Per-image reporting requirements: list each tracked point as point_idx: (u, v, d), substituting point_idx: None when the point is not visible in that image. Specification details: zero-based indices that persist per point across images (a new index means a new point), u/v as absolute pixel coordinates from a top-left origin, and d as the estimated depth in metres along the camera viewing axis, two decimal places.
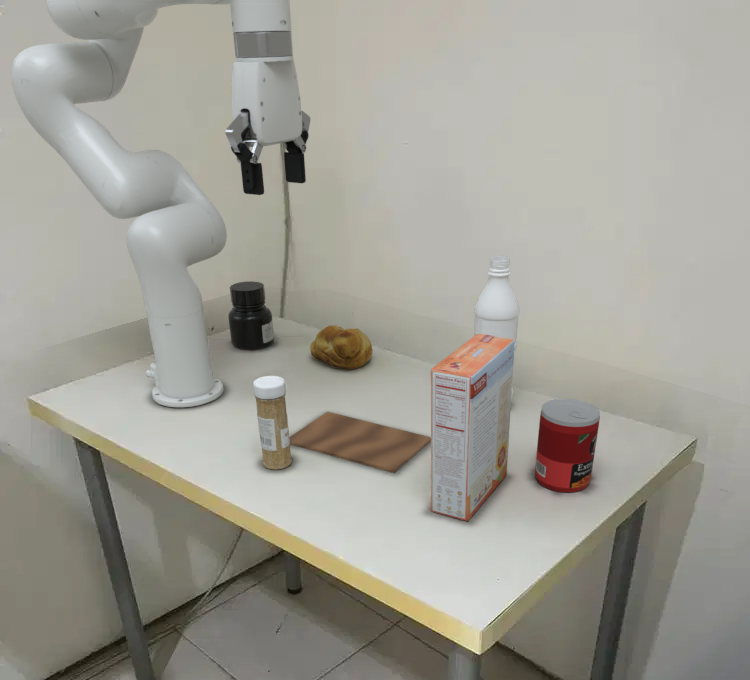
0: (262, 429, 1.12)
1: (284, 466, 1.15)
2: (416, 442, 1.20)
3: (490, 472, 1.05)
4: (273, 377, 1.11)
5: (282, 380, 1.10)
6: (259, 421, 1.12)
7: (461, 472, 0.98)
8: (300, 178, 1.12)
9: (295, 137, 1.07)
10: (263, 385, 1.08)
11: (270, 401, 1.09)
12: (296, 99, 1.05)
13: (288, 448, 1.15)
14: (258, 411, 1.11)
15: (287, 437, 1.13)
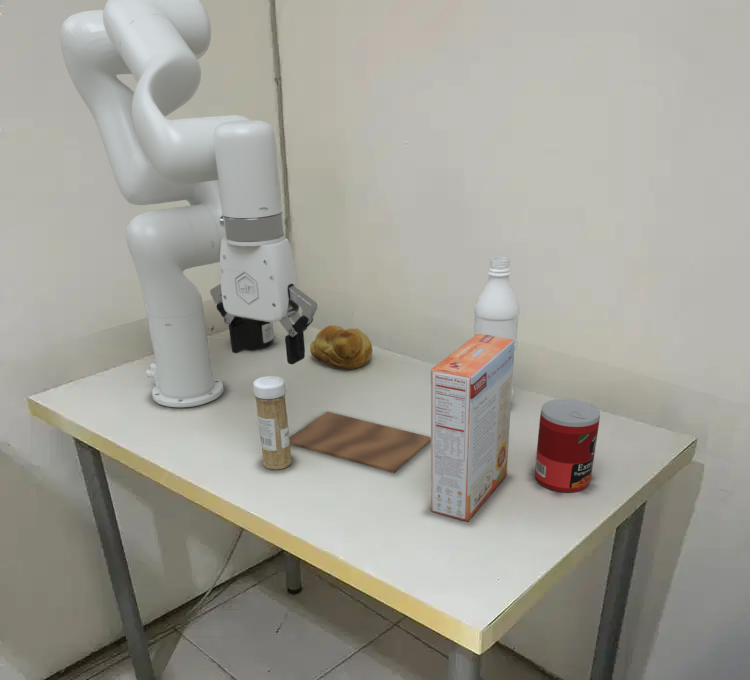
0: (262, 429, 1.12)
1: (284, 466, 1.15)
2: (416, 442, 1.20)
3: (490, 472, 1.05)
4: (273, 377, 1.11)
5: (282, 380, 1.10)
6: (259, 421, 1.12)
7: (461, 472, 0.98)
8: (247, 343, 1.10)
9: None
10: (263, 385, 1.08)
11: (270, 401, 1.09)
12: None
13: (288, 448, 1.15)
14: (258, 411, 1.11)
15: (287, 437, 1.13)
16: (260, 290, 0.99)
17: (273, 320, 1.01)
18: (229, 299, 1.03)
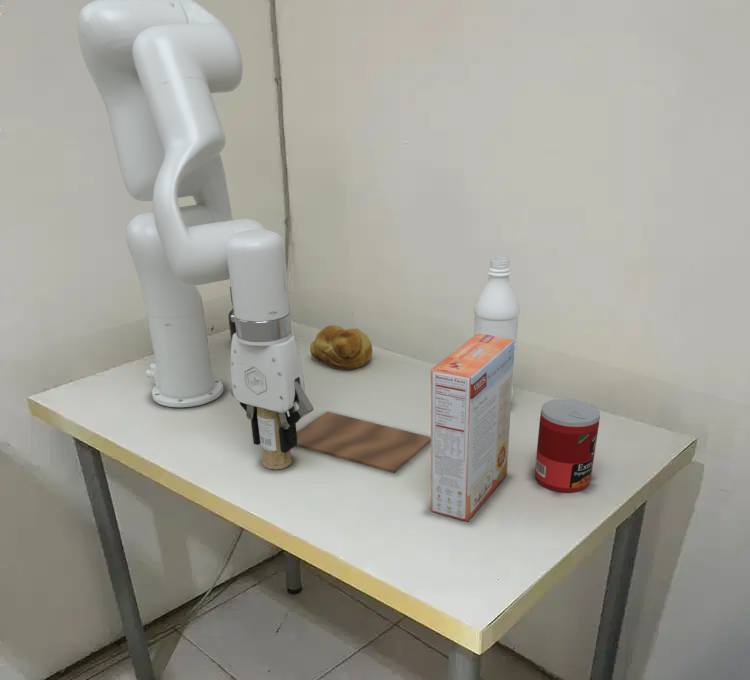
0: (262, 429, 1.12)
1: (284, 466, 1.15)
2: (416, 442, 1.20)
3: (490, 472, 1.05)
4: None
5: None
6: (259, 421, 1.12)
7: (461, 472, 0.98)
8: None
9: None
10: None
11: None
12: None
13: None
14: (258, 411, 1.11)
15: None
16: (268, 384, 1.06)
17: (280, 411, 1.07)
18: (239, 389, 1.10)
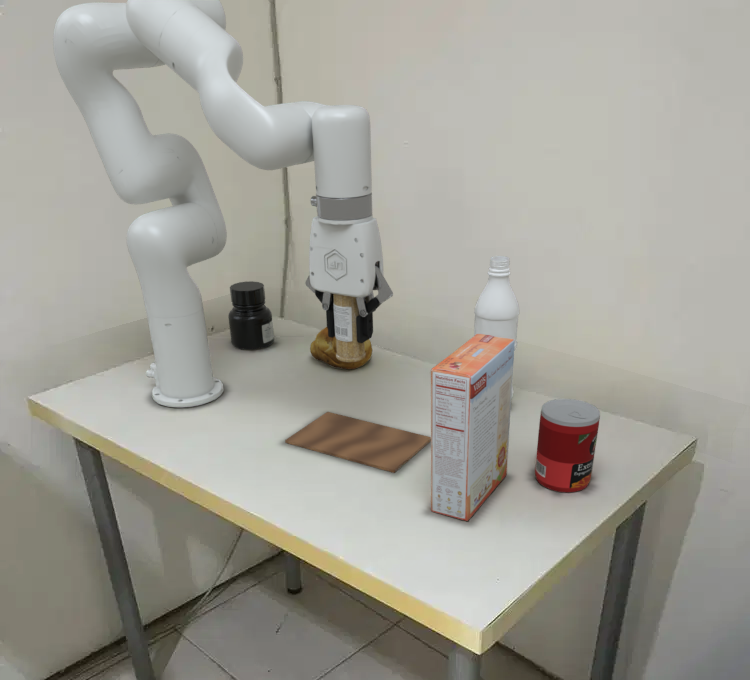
0: (338, 319, 1.11)
1: (359, 359, 1.14)
2: (416, 442, 1.20)
3: (490, 472, 1.05)
4: None
5: None
6: (336, 310, 1.11)
7: (461, 472, 0.98)
8: None
9: None
10: None
11: None
12: None
13: None
14: (335, 299, 1.10)
15: None
16: (349, 267, 1.05)
17: (360, 295, 1.06)
18: (317, 275, 1.09)
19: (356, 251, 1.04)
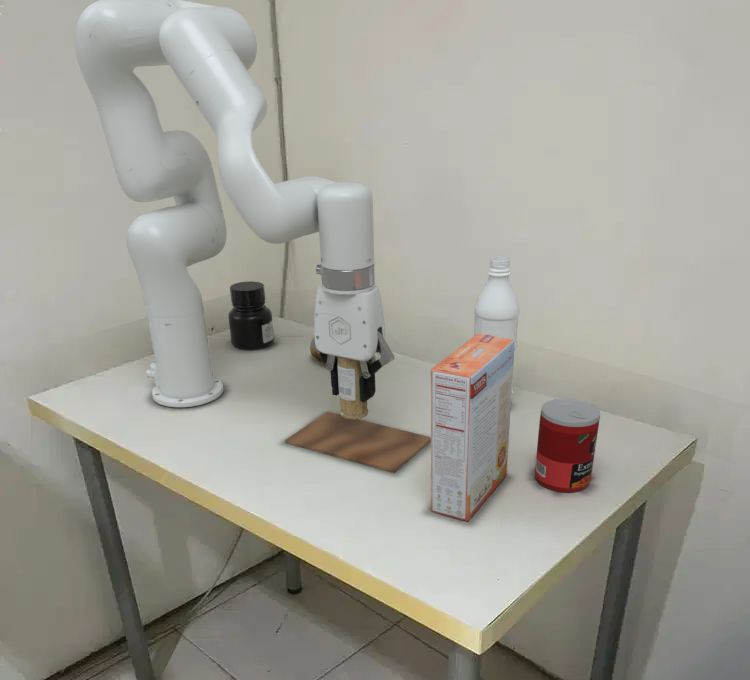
0: (342, 379, 1.16)
1: (362, 416, 1.19)
2: (416, 442, 1.20)
3: (490, 472, 1.05)
4: None
5: None
6: (340, 371, 1.16)
7: (461, 472, 0.98)
8: None
9: None
10: None
11: None
12: None
13: None
14: (339, 361, 1.15)
15: None
16: (353, 333, 1.10)
17: (363, 359, 1.11)
18: (322, 339, 1.14)
19: (359, 319, 1.09)
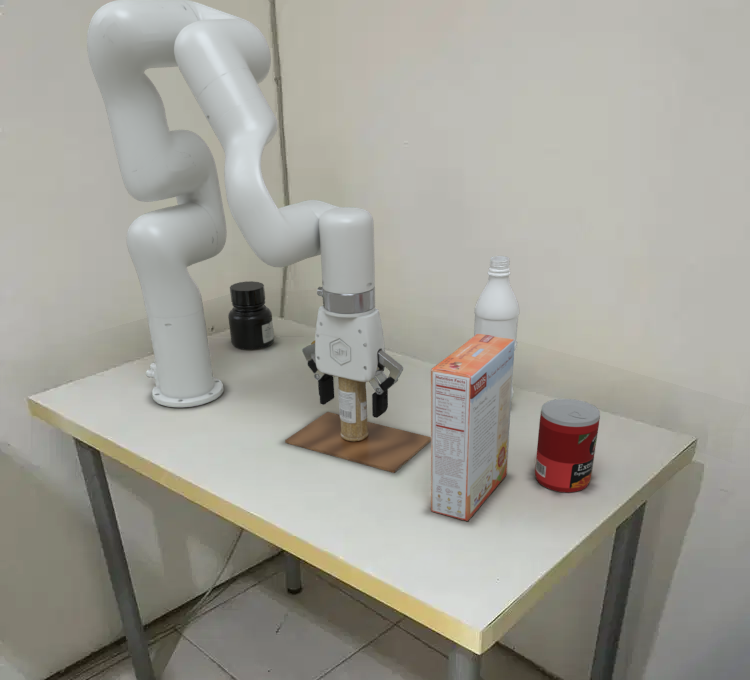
0: (343, 403, 1.18)
1: (362, 438, 1.21)
2: (416, 442, 1.20)
3: (490, 472, 1.05)
4: None
5: None
6: (340, 395, 1.18)
7: (461, 472, 0.98)
8: (333, 395, 1.23)
9: None
10: None
11: None
12: None
13: (366, 421, 1.21)
14: (340, 385, 1.17)
15: (366, 410, 1.19)
16: (353, 354, 1.12)
17: (363, 380, 1.13)
18: (322, 360, 1.15)
19: (360, 341, 1.10)
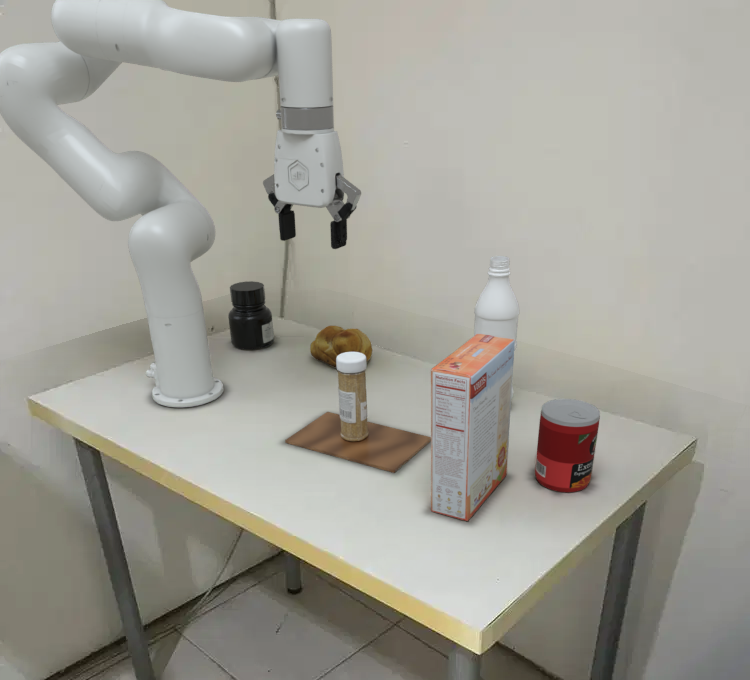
0: (343, 403, 1.18)
1: (362, 438, 1.21)
2: (416, 442, 1.20)
3: (490, 472, 1.05)
4: (354, 353, 1.17)
5: (363, 355, 1.16)
6: (340, 395, 1.18)
7: (461, 472, 0.98)
8: (294, 233, 1.22)
9: None
10: (347, 360, 1.14)
11: (352, 375, 1.15)
12: None
13: (366, 421, 1.21)
14: (340, 385, 1.17)
15: (366, 410, 1.19)
16: (310, 177, 1.11)
17: (321, 205, 1.12)
18: (281, 187, 1.14)
19: (317, 161, 1.09)
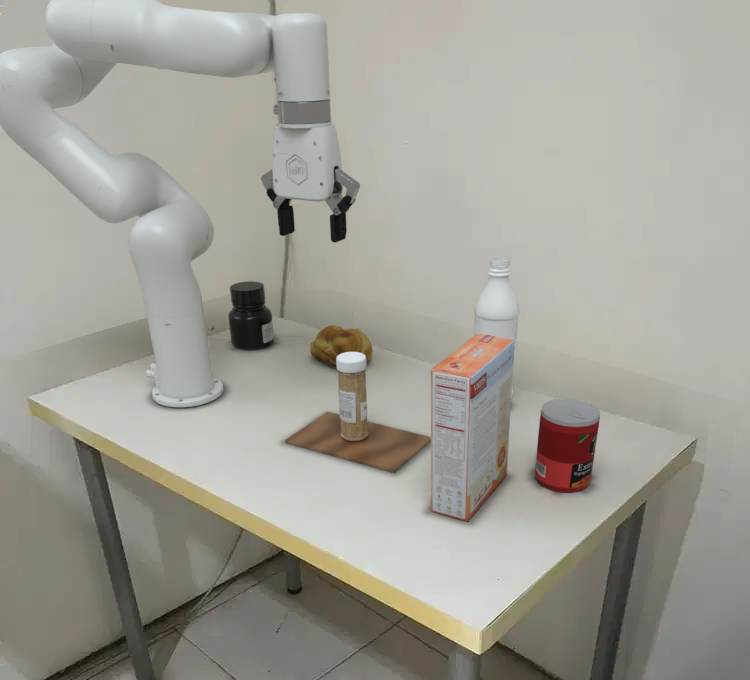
0: (343, 403, 1.18)
1: (362, 438, 1.21)
2: (416, 442, 1.20)
3: (490, 472, 1.05)
4: (354, 353, 1.17)
5: (363, 355, 1.16)
6: (340, 395, 1.18)
7: (461, 472, 0.98)
8: (293, 228, 1.22)
9: None
10: (347, 360, 1.14)
11: (352, 375, 1.15)
12: None
13: (366, 421, 1.21)
14: (340, 385, 1.17)
15: (366, 410, 1.19)
16: (309, 171, 1.11)
17: (320, 199, 1.13)
18: (280, 182, 1.15)
19: (315, 155, 1.10)
